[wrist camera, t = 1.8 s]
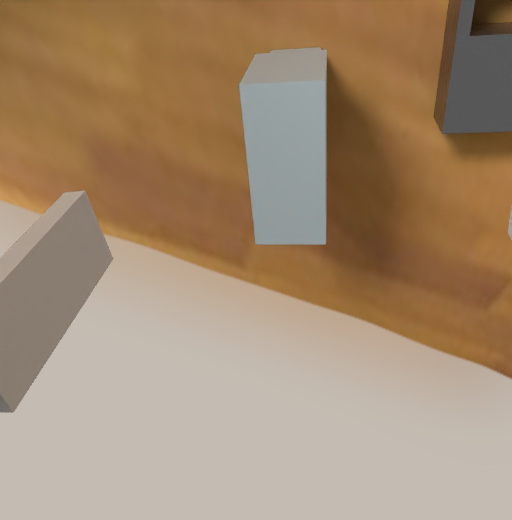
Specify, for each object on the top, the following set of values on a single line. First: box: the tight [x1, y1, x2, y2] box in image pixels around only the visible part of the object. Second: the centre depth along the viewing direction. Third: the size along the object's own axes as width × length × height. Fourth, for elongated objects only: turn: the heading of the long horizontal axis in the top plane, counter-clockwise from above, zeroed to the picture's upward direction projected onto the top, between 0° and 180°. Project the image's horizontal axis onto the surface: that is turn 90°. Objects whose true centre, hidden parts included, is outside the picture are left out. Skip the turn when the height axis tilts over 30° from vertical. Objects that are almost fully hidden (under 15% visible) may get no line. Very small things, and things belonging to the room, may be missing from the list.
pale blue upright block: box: [239, 47, 327, 244], centre depth 29 cm, size 4×9×10 cm, turn 5°
